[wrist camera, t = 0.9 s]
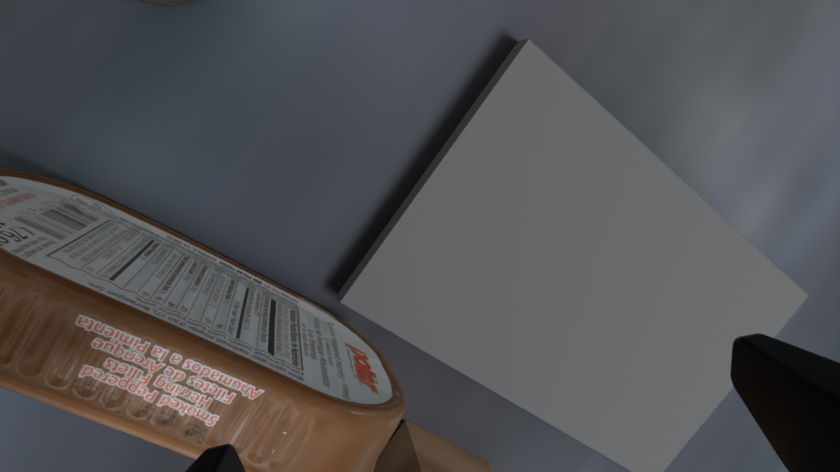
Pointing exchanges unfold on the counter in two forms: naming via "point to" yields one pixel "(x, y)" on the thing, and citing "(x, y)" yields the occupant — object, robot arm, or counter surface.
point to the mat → (571, 270)
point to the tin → (179, 339)
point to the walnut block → (425, 454)
